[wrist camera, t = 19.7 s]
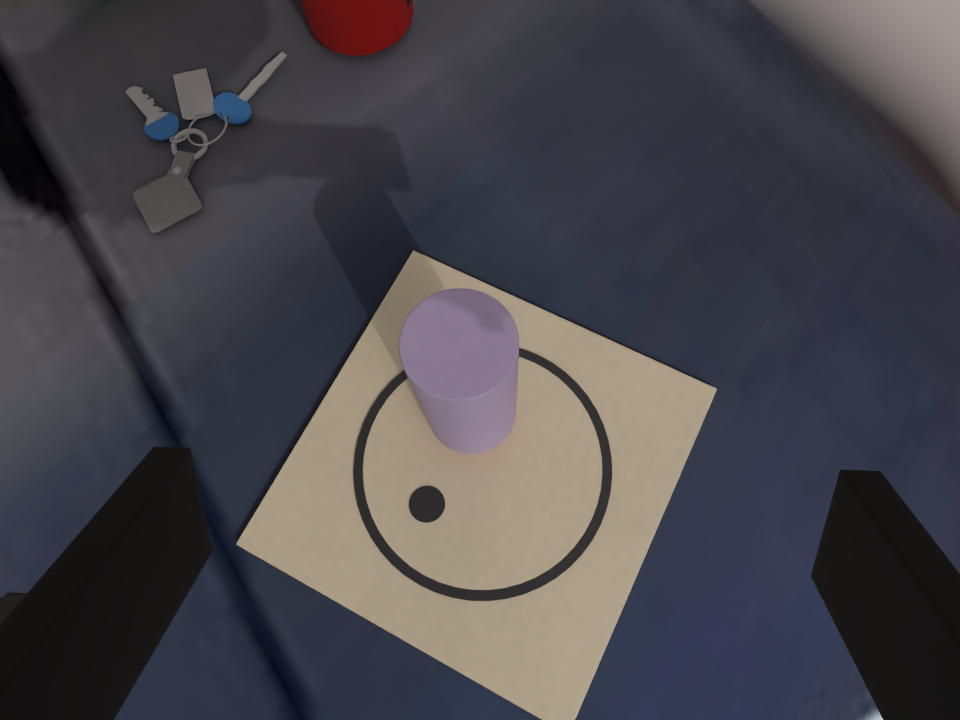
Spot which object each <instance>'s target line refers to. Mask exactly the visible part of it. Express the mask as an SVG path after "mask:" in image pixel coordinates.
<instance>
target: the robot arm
mask: <svg viewBox="0 0 960 720" xmlns="http://www.w3.org/2000/svg"><path fill="white" fill-rule="evenodd" d="M212 551H213V550H212V545H211V541H210V536H209V532H208V527H207V523H206V518H205V514H204V509H203V505H202V500H201V496H200V491H199V487H198V483H197V478H196V474H195V469H194V465H193V460H192V456H191V451H190V448H175V447H153V448H152V450H151V451H150V452H149V453H148V454H147V455H146V456H145V458H144V459H143V460H142V461H141V462H140V463H139V465H138V466H137V467H136V468H135V469H134V470H133V472H132V473H131V474H130V475H129V476H128V477H127V479H126V480H125V481H124V482H123V483H122V484H121V485H120V487H119V488H118V489H117V490H116V491H115V492H114V494H113V495H112V496H111V497H110V498H109V499H108V501H107V502H106V503H105V504H104V505H103V506H102V508H101V509H100V510H99V511H98V512H97V513H96V514H95V516H94V517H93V518H92V519H91V520H90V521H89V523H88V524H87V525H86V526H85V527H84V528H83V530H82V531H81V532H80V533H79V534H78V535H77V537H76V538H75V539H74V540H73V541H72V542H71V543H70V545H69V546H68V547H67V548H66V549H65V550H64V552H63V553H62V554H61V555H60V556H59V557H58V559H57V560H56V561H55V562H54V563H53V564H52V566H51V567H50V568H49V569H48V570H47V571H46V572H45V574H44V575H43V576H42V577H41V578H40V579H39V581H38V582H37V583H36V584H35V585H34V586H33V588H32V589H31V590H30V591H29V592H28V593H7V594H5V595H4V596H2V597H1V598H0V720H114V719H115V717H116V715H117V714H118V712H119V710H120V708H121V707H122V705H123V703H124V702H125V700H126V698H127V697H128V695H129V693H130V691H131V690H132V688H133V686H134V685H135V683H136V681H137V679H138V678H139V676H140V674H141V673H142V671H143V669H144V667H145V666H146V664H147V662H148V661H149V659H150V657H151V656H152V654H153V652H154V650H155V649H156V647H157V645H158V644H159V642H160V640H161V638H162V637H163V635H164V633H165V632H166V630H167V628H168V626H169V625H170V623H171V621H172V620H173V618H174V616H175V615H176V613H177V611H178V609H179V608H180V606H181V604H182V603H183V601H184V599H185V597H186V596H187V594H188V592H189V591H190V589H191V587H192V586H193V584H194V582H195V580H196V579H197V577H198V575H199V574H200V572H201V570H202V568H203V567H204V565H205V563H206V562H207V560H208V558H209V556H210V555H211V553H212ZM811 577H812V579H813V581H814V583H815V585H816V587H817V589H818V591H819V593H820V595H821V597H822V599H823V601H824V603H825V605H826V607H827V609H828V611H829V613H830V615H831V617H832V619H833V621H834V623H835V625H836V627H837V629H838V631H839V633H840V635H841V637H842V639H843V641H844V643H845V645H846V647H847V649H848V651H849V653H850V655H851V657H852V659H853V661H854V663H855V664H856V666H857V668H858V670H859V672H860V674H861V676H862V678H863V680H864V682H865V684H866V686H867V688H868V690H869V692H870V694H871V696H872V698H873V700H874V702H875V704H876V706H877V708H878V710H879V712H880V714H881V716H882V718H883V720H960V574H959V572H958V571H957V570H956V569H955V567H954V566H953V565H952V563H951V562H950V561H949V559H948V558H947V557H946V556H945V554H944V553H943V552H942V550H941V549H940V548H939V547H938V545H937V544H936V543H935V541H934V540H933V539H932V537H931V536H930V535H929V534H928V532H927V531H926V530H925V528H924V527H923V526H922V524H921V523H920V522H919V521H918V519H917V518H916V517H915V515H914V514H913V513H912V512H911V510H910V509H909V508H908V506H907V505H906V504H905V502H904V501H903V500H902V499H901V497H900V496H899V495H898V493H897V492H896V491H895V490H894V488H893V487H892V486H891V484H890V483H889V482H888V480H887V479H886V478H885V477H884V475H883V474H882V473H881V471H860V470H840V473H839V476H838V480H837V483H836V487H835V491H834V494H833V498H832V501H831V505H830V509H829V512H828V516H827V519H826V523H825V527H824V530H823V534H822V538H821V541H820V545H819V548H818V552H817V556H816V559H815V563H814V566H813V570H812V574H811Z"/></svg>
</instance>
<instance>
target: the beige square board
mask: <svg viewBox="0 0 960 720" xmlns="http://www.w3.org/2000/svg"><path fill="white" fill-rule="evenodd" d="M454 288H467V289H473V290H477V291H481V292H483V293H486V294H488V295H490V296H492V297H493V298H495V299H496V300H498V301H499V302H500V303H501V304H502V305H503V306H504V307H505V308H506V309H507V310H508V311H509V313H510V314H511V316H512V318H513V320H514V322H515V324H516V327H517V330H518V335H519V362H518V383H517V405H516V418H515V422H514V425H513V428H512V430H511V432H510V433H509V435H508V436H507V437H506V439H505V440H504V441H503V442H502V443H501V444H499V445H498V446H497V447H495V448H493V449H492V450H489V451H487V452H484V453H480V454H463V453H459V452H456V451H453V450H451V449H449V448H448V447H446V446H445V445H443V444H442V443H441V442H440V441H439V440H438V439H437V438H436V436H435V435H434V433H433V431H432V430H431V427H430V425H429V423H428V421H427V419H426V417H425V414H424V412H423V410H422V408H421V406H420V403H419V401H418V399H417V397H416V395H415V392H414V390H413V388H412V386H411V384H410V381H409V379H408V377H407V375H406V373H405V371H404V368H403V366H402V363H401V360H400V355H399V337H400V332H401V329H402V326H403V324H404V322H405V320H406V318H407V317H408V315H409V314H410V312H411V311H412V310H413V309H414V308H415V307H416V306H417V305H418V304H419V303H420V302H421V301H423V300H424V299H426V298H427V297H429V296H431V295H433V294H434V293H437V292H440V291H443V290H447V289H454ZM716 390H717V389H716V388H714V387H712V386H710V385H708V384H705V383H703V382H701V381H699V380H697V379H694V378H692V377H690V376H688V375H686V374H683V373H681V372H679V371H677V370H675V369H673V368H670V367H668V366H666V365H664V364H662V363H659V362H657V361H655V360H653V359H651V358H648V357H646V356H644V355H642V354H640V353H637V352H635V351H633V350H631V349H629V348H626V347H624V346H622V345H620V344H618V343H615V342H613V341H611V340H609V339H607V338H605V337H602V336H600V335H598V334H596V333H594V332H591V331H589V330H587V329H585V328H583V327H580V326H578V325H576V324H574V323H572V322H569V321H567V320H565V319H563V318H561V317H558V316H556V315H554V314H552V313H550V312H547V311H545V310H543V309H541V308H539V307H537V306H534V305H532V304H530V303H528V302H526V301H523V300H521V299H519V298H517V297H515V296H512V295H510V294H508V293H506V292H504V291H501V290H499V289H497V288H495V287H493V286H490V285H488V284H486V283H484V282H482V281H479V280H477V279H475V278H473V277H471V276H469V275H466V274H464V273H462V272H460V271H458V270H455V269H453V268H451V267H449V266H447V265H444V264H442V263H440V262H438V261H436V260H433V259H431V258H429V257H427V256H425V255H422V254H420V253H418V252H416V251H413V252H412V253H411V255H410V257H409V258H408V260H407V262H406V263H405V265H404V267H403V268H402V270H401V272H400V273H399V275H398V277H397V278H396V280H395V282H394V283H393V285H392V286H391V288H390V290H389V291H388V293H387V295H386V296H385V298H384V300H383V301H382V303H381V305H380V306H379V308H378V310H377V311H376V313H375V315H374V316H373V318H372V320H371V321H370V323H369V325H368V326H367V328H366V330H365V331H364V333H363V334H362V336H361V338H360V339H359V341H358V343H357V344H356V346H355V348H354V349H353V351H352V353H351V354H350V356H349V358H348V359H347V361H346V363H345V364H344V366H343V368H342V369H341V371H340V373H339V374H338V376H337V378H336V379H335V381H334V382H333V384H332V386H331V387H330V389H329V391H328V392H327V394H326V396H325V397H324V399H323V401H322V402H321V404H320V406H319V407H318V409H317V411H316V412H315V414H314V416H313V417H312V419H311V421H310V422H309V424H308V426H307V427H306V429H305V431H304V432H303V434H302V435H301V437H300V439H299V440H298V442H297V444H296V445H295V447H294V449H293V450H292V452H291V454H290V455H289V457H288V459H287V460H286V462H285V464H284V465H283V467H282V469H281V470H280V472H279V474H278V475H277V477H276V479H275V480H274V482H273V483H272V485H271V487H270V488H269V490H268V492H267V493H266V495H265V497H264V498H263V500H262V502H261V503H260V505H259V507H258V508H257V510H256V512H255V513H254V515H253V517H252V518H251V520H250V522H249V523H248V525H247V527H246V528H245V530H244V531H243V533H242V535H241V536H240V538H239V540H238V541H237V543H236V545H238V546H240V547H241V548H243V549H245V550H247V551H248V552H250V553H252V554H254V555H255V556H257V557H259V558H261V559H262V560H264V561H266V562H268V563H269V564H271V565H273V566H275V567H276V568H278V569H280V570H282V571H283V572H285V573H287V574H289V575H290V576H292V577H294V578H296V579H297V580H299V581H301V582H303V583H304V584H306V585H308V586H310V587H311V588H313V589H315V590H316V591H318V592H320V593H322V594H323V595H325V596H327V597H329V598H330V599H332V600H334V601H336V602H337V603H339V604H341V605H343V606H344V607H346V608H348V609H350V610H351V611H353V612H355V613H357V614H358V615H360V616H362V617H364V618H365V619H367V620H369V621H371V622H372V623H374V624H376V625H378V626H379V627H381V628H383V629H385V630H386V631H388V632H390V633H391V634H393V635H395V636H397V637H398V638H400V639H402V640H404V641H405V642H407V643H409V644H411V645H412V646H414V647H416V648H418V649H419V650H421V651H423V652H425V653H426V654H428V655H430V656H432V657H433V658H435V659H437V660H439V661H440V662H442V663H444V664H446V665H447V666H449V667H451V668H453V669H454V670H456V671H458V672H460V673H461V674H463V675H465V676H467V677H468V678H470V679H472V680H473V681H475V682H477V683H479V684H480V685H482V686H484V687H486V688H487V689H489V690H491V691H493V692H494V693H496V694H498V695H500V696H501V697H503V698H505V699H507V700H508V701H510V702H512V703H514V704H515V705H517V706H519V707H521V708H522V709H524V710H526V711H528V712H529V713H531V714H533V715H535V716H536V717H538V718H540V719H542V720H575V719H576V716H577V714H578V712H579V709H580V707H581V705H582V702H583V700H584V698H585V695H586V693H587V691H588V688H589V686H590V684H591V681H592V679H593V677H594V674H595V672H596V670H597V667H598V665H599V663H600V661H601V658H602V656H603V654H604V651H605V649H606V647H607V644H608V642H609V640H610V637H611V635H612V633H613V630H614V628H615V626H616V623H617V621H618V619H619V616H620V614H621V612H622V609H623V607H624V605H625V602H626V600H627V598H628V595H629V593H630V591H631V588H632V586H633V584H634V581H635V579H636V577H637V574H638V572H639V570H640V567H641V565H642V563H643V560H644V558H645V556H646V553H647V551H648V549H649V546H650V544H651V542H652V539H653V537H654V535H655V532H656V530H657V528H658V525H659V523H660V521H661V518H662V516H663V514H664V511H665V509H666V507H667V504H668V502H669V500H670V497H671V495H672V493H673V491H674V488H675V486H676V484H677V481H678V479H679V477H680V474H681V472H682V470H683V467H684V465H685V463H686V460H687V458H688V456H689V453H690V451H691V449H692V446H693V444H694V442H695V439H696V437H697V435H698V432H699V430H700V428H701V425H702V423H703V421H704V418H705V416H706V414H707V411H708V409H709V407H710V404H711V402H712V400H713V397H714V395H715V393H716Z"/></svg>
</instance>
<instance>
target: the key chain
mask: <svg viewBox="0 0 960 720" xmlns="http://www.w3.org/2000/svg"><path fill="white" fill-rule="evenodd" d="M286 56H287V55H286V54H284V53H283V52H281V53H280V54H279V55H278V56H277V57H275V58H274V59H273V60H272V61H271V62H270V63H268V64H267V65H266V66H265V67H264V68H263V70H262V72H261V73H260V74H259V75H258V76H257V77H256V78H255V79H253V80H252V81H251V82H250V83H249V85H248V86H247V87H246V88H245V90H244V91H243V92H242V93H241V94H240V95H239V96H237V95H236V94H235V93H230V92H225V93H221V94H219V95H218V96H216V97H215V99H214V98H213V94H212V90H211V85H210V81H209V77H208V73H207V69H206V68H204V69H199V70H194V71H189V72H184V73H179V74H174V75H173V78H174V83H175V87H176V92H177V96H178V101H179V105H180V110H181V114H182V118H183V119H185V120H193V121H192V122H191V123H190V125H189V128H188V129H185V130H182V131H180V132H178V130H179V127H180V123H179V121H178V118H177V116H176V115H174V114H173V113H171V112H170V111H169V112H168V113H167V112H161V111H163V110H162V109H161V108H158V106H155V107H154V106H153V105H155V103H154V99H153V98H151V99H149V100H148V99H147V98H149V96H148V95H147V94H145V95H144V94H143V93H142V92H141V91H143V89H142V87H139V88H138V87H137V86H133V87H129V88H128V89H127V90H126V91H125V92H126V93H127V95H128V96H129V97H130V98H131V99H132V101H133V102H134V103H135V104H136V105H137V107H138V108H139V109H140V110H141V111H142V113H143V114H144V115H145V116H146V117H147V120H146V123H145V126H143V128H144V130H145V133H146V134H147V135H148V136H149V137H151V138H152V139H154V140H162V141H163V140H166V139H169V141H170V142H172V144H171V150H172V154H173V155H174V156H175V157H174V160H173V163H172V166H171V167H170V169H169V171H168V172H167V174H166V175H165V176H163V177H161V178H159V179H157V180H155V181H153V182H151V183H149V184H147V185H145V186H143V187H141V188H139V189H137V190H135V191H134V192H133V198H134V200H135V202H136V204H137V206H138V208H139V210H140V212H141V214H142V216H143V218H144V220H145V222H146V224H147V225H148V227H149V229H150V231H151V232H153V233H158V232H160V231H162V230H163V229H165V228H167V227H169V226H171V225H173V224H175V223H177V222H179V221H181V220H182V219H184V218H186V217H188V216H190V215H192V214H194V213H196V212H198V211H200V209H201V208H202V203H201V202H200V200H199V198H198V196H197V194H196V193H195V191H194V189H193V187H192V185H191V184H190V182H189V180H188V177H189V173H190V170H191V168H192V167H193V165H194V163H195V161H196V159H198V158H200V157H202V156H203V155H204V153H205V152H206V151H207V148H208V145H209V144H211V143H213V142H215V141H216V140H218V139H219V138H220V137H221V136H222V135H223V133H224V132H225V129H226V127H227V123H230V124H242V123H245V122H246V121H248V120H249V119H250V117H251V115H252V111H251V107H250V105H249V104H248V102H247V101H248V100H249V99H250V98H251V97H252V96H253V95H254V93H255V92H256V91H257V89H258V88H259V87H260V86H261V85H263V84H264V83H265V82H266V81H267V80H268V78H269V77H270V76H271V74H272V73H273V72H274V71H275V70H276V69H277V67H278V66H279V65H280V64H281V62H282V61H283V60H284V59H285V58H286ZM215 113H216V114H217V116H218V117H220V118H221V119H222V120H223V121H225V127H224V129H223V131H222V133H221V134H220V135H219V136H218V137H217V138H216V139H214V140H212V141H211V142H209V141H208V137H207V135H206V134H205V133H204V132H203V131H201V130H198V129H194V128H191V125H192V124H193V123H194V122H195V121H196V120H197V119H199V118H204V117H208V116H211V115H214V114H215ZM198 115H199V116H198ZM203 115H204V116H203ZM221 115H222V116H223V117H224V118H223V117H222V116H221ZM195 116H197V117H195ZM227 118H228V120H227ZM190 128H191V129H190ZM177 132H178V133H177ZM176 133H177V134H176ZM189 134H198V135H199V136H200V137H201V138H202V139H203V144H197V143H193V141H192V140H191V139H190V138H189ZM183 136H184V137H183ZM182 137H183V138H182ZM181 138H182V139H181ZM186 138H187V140H188V141H189V142H190V143H191V144H192V145H196V146H203V147H202V148H201V149H200V151H199V152H198V153H196V154H195V153H190V152H184V151H179V150H178V151H177V147H176V146H177V143H178V142H182V141H184V140H186ZM172 139H173V140H172Z"/></svg>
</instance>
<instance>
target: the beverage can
mask: <svg viewBox="0 0 960 720" xmlns="http://www.w3.org/2000/svg"><path fill="white" fill-rule="evenodd" d="M300 1H301V4H302V7H303V9H304V12H305V15H306V18H307V20H308V23H309V26H310V29H311V31H312V33H313V35H314V36H315V37H316V39H317V40H318V41H319V42H320V43H321V44H322V45H324V46H325V47H326V48H328V49H330V50H332V51H334V52H337V53H340V54H344V55H351V56H362V55H369V54H374V53H377V52H380V51H382V50H384V49H386V48H388V47H390V46H392V45H393V44H394V43H396V42H397V41H398V40H399V39H400V38H401V37H402V36H403V35H404V34H405V33H406V31H407V30H408V28H409V26H410V24H411V21H412V17H413V2H412V0H300Z"/></svg>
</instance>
